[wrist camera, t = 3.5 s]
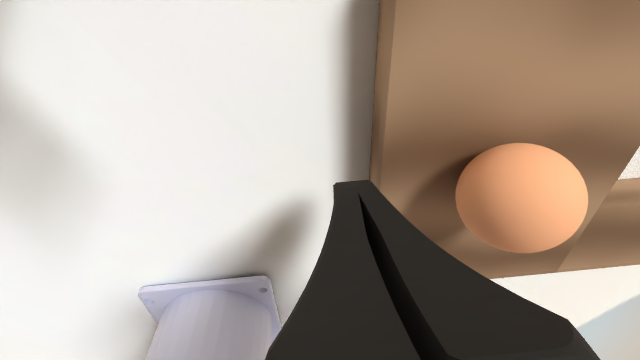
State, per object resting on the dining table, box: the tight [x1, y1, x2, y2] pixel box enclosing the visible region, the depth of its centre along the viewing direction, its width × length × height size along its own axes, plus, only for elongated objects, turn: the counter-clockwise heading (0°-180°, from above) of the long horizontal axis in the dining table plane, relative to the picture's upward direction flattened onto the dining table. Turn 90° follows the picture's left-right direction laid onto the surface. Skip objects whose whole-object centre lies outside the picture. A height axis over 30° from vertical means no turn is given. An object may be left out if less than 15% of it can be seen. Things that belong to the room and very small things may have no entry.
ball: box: [455, 143, 588, 253], centre depth 11 cm, size 4×4×4 cm
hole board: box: [369, 0, 640, 279], centre depth 14 cm, size 16×20×2 cm
